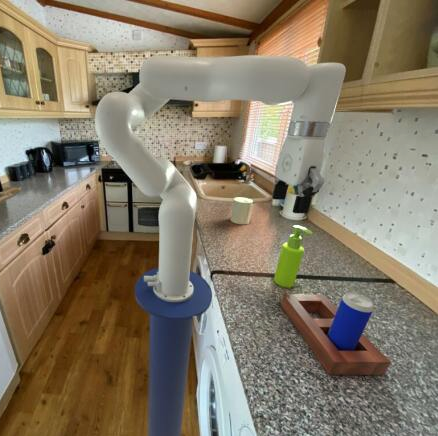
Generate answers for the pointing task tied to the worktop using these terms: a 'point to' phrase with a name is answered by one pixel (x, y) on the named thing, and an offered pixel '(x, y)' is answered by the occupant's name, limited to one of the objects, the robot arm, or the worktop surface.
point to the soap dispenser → (290, 258)
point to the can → (241, 210)
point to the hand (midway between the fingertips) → (288, 205)
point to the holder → (319, 342)
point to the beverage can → (350, 321)
